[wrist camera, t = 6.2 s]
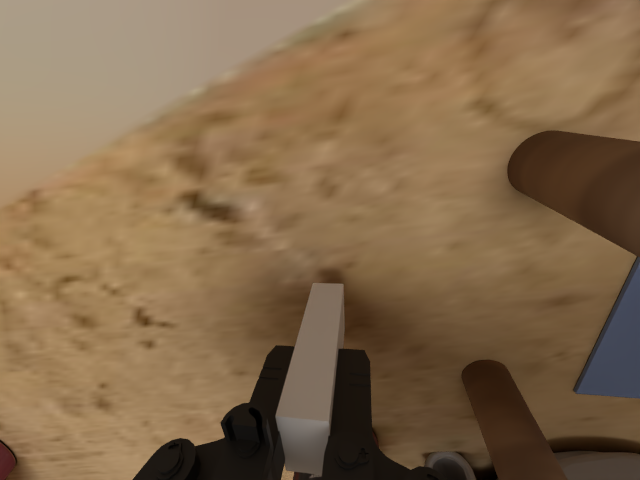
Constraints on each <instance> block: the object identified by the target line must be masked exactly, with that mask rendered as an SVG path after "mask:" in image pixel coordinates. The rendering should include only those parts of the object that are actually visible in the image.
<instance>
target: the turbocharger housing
mask: <svg viewBox="0 0 640 480" xmlns="http://www.w3.org/2000/svg"><path fill="white" fill-rule="evenodd" d="M553 454H554V455H555V457H556V459H557V461H558V463H559V465H560V466H561V468H562V470H563V472H564V474H565V476H566V477H567V479H568V480H640V454H636V453H625V452H595V451H570V452H559V453H553ZM424 467H430V468H432V469H434V470H436V471H438V472H440V473H441V474H442V475H443V476H444V477H446V478H447V479H448V480H476V478H475V475H474V473H473V470H472V468H471V467H470V465H469V463H468V462H467V461H466V460H465V459H464V458H463V457H462V456H461V455H460V454H458V453H457V452H433V453H431V454H430V455H429V456H428V457H427V459H426V461H425V465H424ZM497 480H499V479H497Z"/></svg>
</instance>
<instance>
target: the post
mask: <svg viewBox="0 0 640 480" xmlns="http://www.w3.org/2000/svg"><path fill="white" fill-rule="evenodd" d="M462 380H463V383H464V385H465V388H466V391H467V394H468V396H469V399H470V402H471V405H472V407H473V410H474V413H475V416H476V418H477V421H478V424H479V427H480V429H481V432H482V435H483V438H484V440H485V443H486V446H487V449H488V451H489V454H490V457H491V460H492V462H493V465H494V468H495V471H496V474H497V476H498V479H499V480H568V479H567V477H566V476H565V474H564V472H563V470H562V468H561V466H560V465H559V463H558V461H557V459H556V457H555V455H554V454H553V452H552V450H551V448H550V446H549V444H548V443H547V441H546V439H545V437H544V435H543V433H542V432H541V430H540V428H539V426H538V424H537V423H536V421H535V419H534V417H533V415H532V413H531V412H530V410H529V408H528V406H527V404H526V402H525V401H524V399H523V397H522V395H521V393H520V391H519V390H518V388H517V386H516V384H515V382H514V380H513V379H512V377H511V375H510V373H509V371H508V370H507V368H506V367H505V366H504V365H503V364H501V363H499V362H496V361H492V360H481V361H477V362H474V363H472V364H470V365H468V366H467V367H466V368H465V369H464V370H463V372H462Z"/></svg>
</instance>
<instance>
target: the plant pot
mask: <svg viewBox="0 0 640 480" xmlns="http://www.w3.org/2000/svg"><path fill="white" fill-rule="evenodd" d="M15 464H16V461H15V458H14V456H13V454H12V453H11V452H10V450H9V449H8V448H7V447H6V446H5V445H3V444H2V443H1V442H0V480H5V479H6V477H7V476H8V475H9V473H10V472H11V471H12V469H13V468H14V466H15Z"/></svg>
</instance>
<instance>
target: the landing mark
mask: <svg viewBox="0 0 640 480" xmlns="http://www.w3.org/2000/svg"><path fill="white" fill-rule="evenodd" d="M574 392H575V393H576V394H589V395H602V396H615V397H628V398H640V257H637V259H636V262H635V264H634V266H633V268H632V270H631V272H630V274H629V276H628V278H627V280H626V282H625V284H624V287H623V289H622V291H621V293H620V295H619V297H618V299H617V301H616V303H615V305H614V307H613V309H612V312H611V314H610V316H609V318H608V320H607V322H606V324H605V326H604V328H603V330H602V332H601V334H600V337H599V339H598V341H597V343H596V345H595V347H594V349H593V351H592V353H591V355H590V357H589V359H588V362H587V364H586V366H585V368H584V370H583V372H582V374H581V376H580V378H579V380H578V382H577V384H576V387H575V389H574Z"/></svg>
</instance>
